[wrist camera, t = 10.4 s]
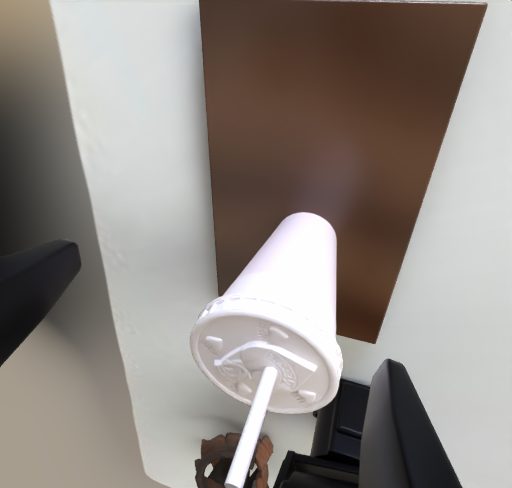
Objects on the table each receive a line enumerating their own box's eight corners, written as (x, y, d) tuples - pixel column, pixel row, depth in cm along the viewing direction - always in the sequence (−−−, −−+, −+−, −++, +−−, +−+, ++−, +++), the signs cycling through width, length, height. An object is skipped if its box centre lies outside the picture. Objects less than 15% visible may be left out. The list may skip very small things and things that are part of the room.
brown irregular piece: (194, 426, 46) (170, 473, 38) (250, 387, 44) (238, 427, 36) (250, 499, 46) (238, 562, 37) (308, 463, 44) (309, 520, 36)
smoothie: (371, 273, 22) (348, 556, 11) (277, 284, 24) (184, 514, 14) (343, 179, 19) (274, 433, 8) (241, 204, 22) (88, 415, 11)
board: (376, 329, 26) (375, 344, 25) (225, 293, 29) (218, 305, 28) (481, 2, 14) (489, 2, 13) (211, -4, 17) (197, -4, 16)
